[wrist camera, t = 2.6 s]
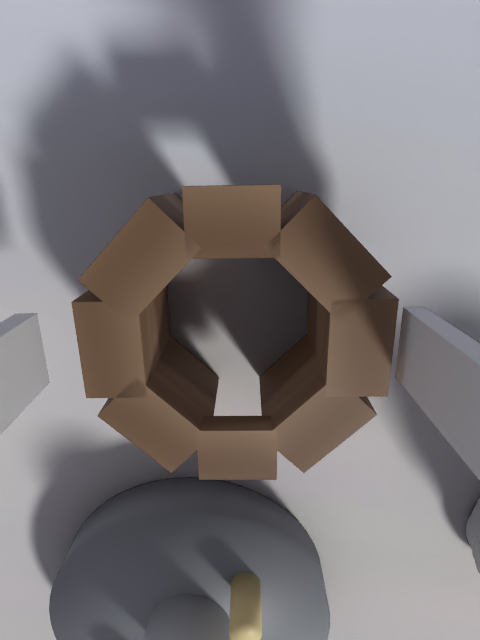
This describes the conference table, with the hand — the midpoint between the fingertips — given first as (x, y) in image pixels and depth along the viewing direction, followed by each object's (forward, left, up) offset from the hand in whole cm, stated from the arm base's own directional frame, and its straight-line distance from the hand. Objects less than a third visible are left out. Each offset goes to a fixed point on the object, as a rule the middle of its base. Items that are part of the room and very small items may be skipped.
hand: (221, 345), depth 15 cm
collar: (0, 0, -4) cm, 4 cm away
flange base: (+14, +10, -4) cm, 18 cm away
